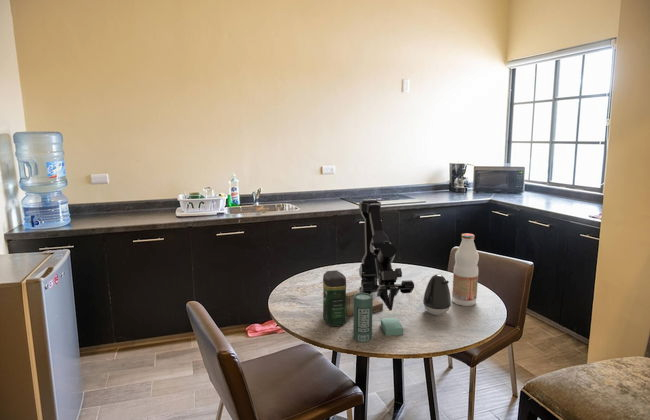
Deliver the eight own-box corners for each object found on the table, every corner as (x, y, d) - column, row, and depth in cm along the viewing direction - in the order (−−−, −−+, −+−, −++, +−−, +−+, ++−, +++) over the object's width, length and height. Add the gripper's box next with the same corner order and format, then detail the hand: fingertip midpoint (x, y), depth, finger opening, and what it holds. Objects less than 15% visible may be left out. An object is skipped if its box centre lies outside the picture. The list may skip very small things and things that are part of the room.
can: (370, 333, 154) (371, 292, 151) (372, 342, 148) (373, 299, 145) (352, 333, 153) (353, 292, 150) (354, 342, 147) (354, 299, 145)
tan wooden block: (343, 313, 170) (343, 293, 168) (355, 310, 173) (356, 290, 171) (347, 316, 167) (347, 296, 166) (360, 312, 171) (360, 292, 169)
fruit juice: (456, 306, 175) (460, 238, 170) (448, 297, 185) (452, 231, 179) (479, 306, 176) (484, 237, 170) (471, 297, 185) (475, 231, 179)
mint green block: (380, 318, 159) (385, 328, 152) (397, 317, 160) (403, 328, 152) (380, 325, 160) (385, 336, 152) (397, 324, 160) (402, 335, 153)
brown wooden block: (358, 299, 176) (370, 306, 170) (369, 296, 179) (382, 303, 173) (357, 306, 177) (370, 313, 170) (369, 302, 180) (382, 309, 173)
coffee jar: (348, 326, 159) (348, 276, 156) (326, 328, 158) (326, 278, 154) (341, 314, 169) (341, 267, 165) (321, 316, 167) (320, 269, 163)
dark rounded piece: (435, 320, 163) (437, 281, 160) (417, 310, 172) (418, 272, 169) (456, 315, 168) (458, 276, 165) (437, 305, 177) (439, 268, 174)
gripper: (362, 260, 158) (368, 302, 149) (413, 259, 159) (422, 300, 151) (358, 274, 167) (363, 314, 158) (407, 272, 169) (414, 312, 160)
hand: (390, 310), depth 157 cm, fingers closed
